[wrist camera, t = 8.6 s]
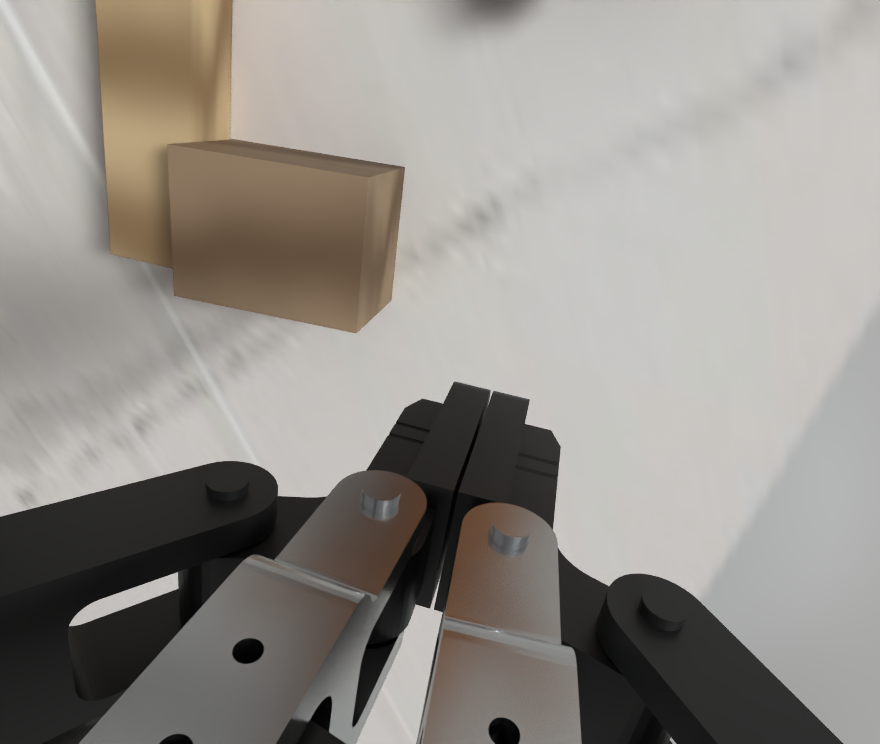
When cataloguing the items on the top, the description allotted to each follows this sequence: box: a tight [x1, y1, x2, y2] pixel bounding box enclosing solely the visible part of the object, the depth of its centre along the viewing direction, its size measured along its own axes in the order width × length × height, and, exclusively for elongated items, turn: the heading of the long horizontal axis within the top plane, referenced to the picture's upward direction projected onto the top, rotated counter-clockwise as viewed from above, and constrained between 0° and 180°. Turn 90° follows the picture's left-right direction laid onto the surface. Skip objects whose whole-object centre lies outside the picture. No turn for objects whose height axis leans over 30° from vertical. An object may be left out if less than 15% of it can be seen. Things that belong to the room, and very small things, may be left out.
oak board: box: [95, 0, 232, 268], centre depth 25 cm, size 17×4×3 cm, turn 170°
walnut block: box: [167, 139, 405, 333], centre depth 26 cm, size 6×8×5 cm
